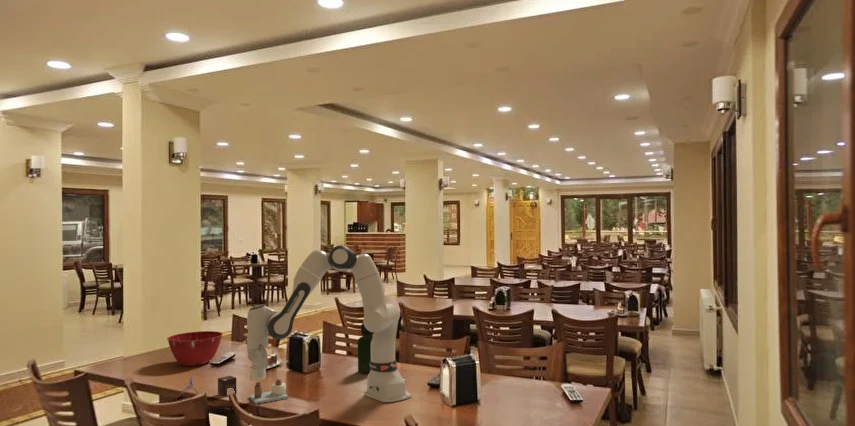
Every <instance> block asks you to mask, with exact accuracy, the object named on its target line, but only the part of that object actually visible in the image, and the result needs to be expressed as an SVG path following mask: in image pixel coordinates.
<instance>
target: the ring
mask: <svg viewBox="0 0 855 426" xmlns="http://www.w3.org/2000/svg"><path fill="white" fill-rule="evenodd" d="M266 370H267V368H264V370H263V376H262V377H258V367H257V366H250V368H249V379H250V381H254V382H259V381H263V380H266V378H267V377H266V373H267V372H266Z"/></svg>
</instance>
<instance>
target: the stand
mask: <svg viewBox="0 0 855 426" xmlns="http://www.w3.org/2000/svg"><path fill="white" fill-rule="evenodd" d="M270 387H271V390H270V391H265V392H262V391H263V385H262V384H261V382H259V381H256V382H255V384H254V393H253V394H249V395H248V397H250V398H251V399H250V398H249V399H250V400H251V401H252V403H253V404H255V405H259V404H258V403H261V404H265V403H264V402H267V403H270V401H272V402H276V401H275V400H277V401H282V400H281V399H283V400H287V399H289V395H288V394H286V393H287V383H285V382H283V381H282V379H281V378H277V379H276V380H275V382H273V383H272V384H271V385H270Z"/></svg>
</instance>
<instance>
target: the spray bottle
mask: <svg viewBox="0 0 855 426" xmlns="http://www.w3.org/2000/svg"><path fill="white" fill-rule="evenodd" d="M360 334H361V335H362V336H361V337H359V338H358V339H357V372H358V373H360V374H362V375H368V374H369V373H370V370H371V369H370V360H371V341H372V338H373V334H374V332H370V331H368V330H367V329H366V328H365V326H364V323H363V322H362V323H361V325H360Z"/></svg>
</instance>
